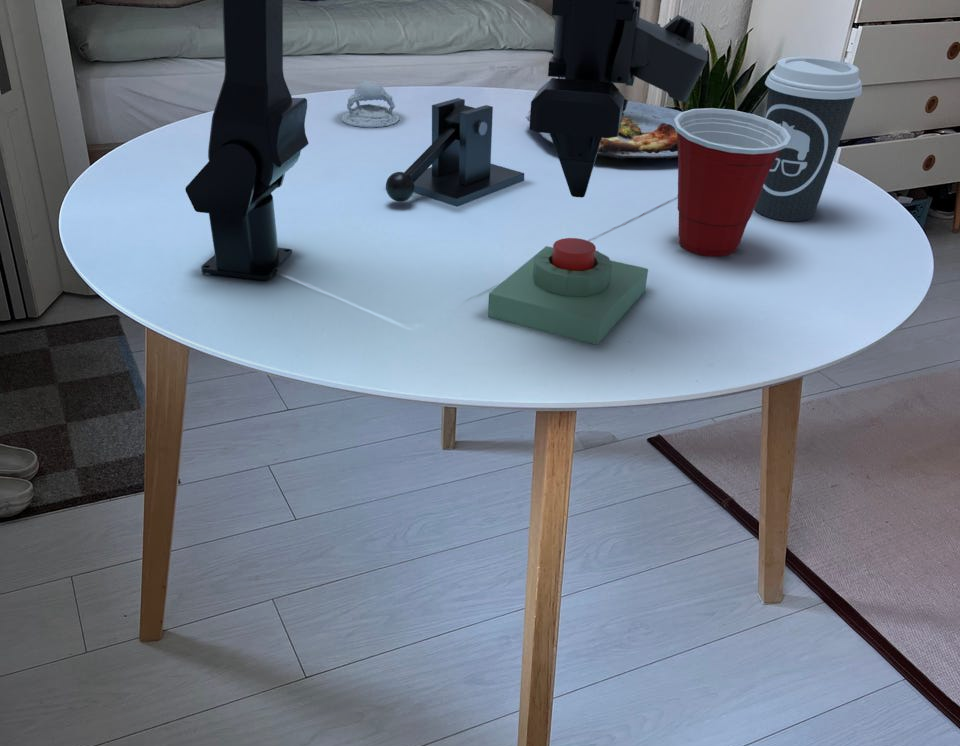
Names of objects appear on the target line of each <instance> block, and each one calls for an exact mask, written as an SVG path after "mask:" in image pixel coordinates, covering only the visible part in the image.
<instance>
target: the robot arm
mask: <svg viewBox="0 0 960 746" xmlns="http://www.w3.org/2000/svg"><path fill="white" fill-rule="evenodd" d="M221 1H222V2H221V4H222V27H223V30H222V31H223V52H224V57H223V58H224V77H223V82H222V85H221V88H220V91H219V93H218V97H217V100H216V104H215V106H214V110H213V113H212V117H211V124H210V133H209V139H208V140H209V141H208V149H207V153H208V154H207V159H208V162H207V163H206V164H205V165H204V166H203V167H202V169H200V171H199V172H198V173H197V174H196V175H195V176H194V177H193V178H192V180H191V181H190V182H189V183H188V184H187V185H186V186H185V188H184V190H185V193H186V195H187V197H188V200H189V201H190V204H191V206H192V207H193V210H194V211H195V212H196V213H203V214H208V217H209V225H210V231H211V238H212V245H213V251H214V255H213V256H212V257H210V258H209V259H208V260H207V261H206V262H204V263H203V264H202V265H201V266H200V269H201V273H203V274H209V275H218V276H224V277H225V276H227V277H232V278H241V279H250V280H257V281H268V280H270V279H271V278H272V277H273V276H274V275H275V274H276V273H277V272H278V269H279V268H280V267H281V266H282V265H283V264H284V263H285V262H286V261H287V260H288V259H289V258H290V257H291V256H292V255H293V249H291V248H286V247H279V244H278V242H279V241H278V233H277V232H278V231H277V225H276V215H275V204H274V196H273V194H272V193H273V192H274V191H275V190H276V189H278V188H281V186H282V185H283V183H284V179H285V177H286V176H285V175H286V173H287V172H288V171H289V170H290V169H292V168H293V167H294V166H295V165H296V163H298V161H299V158H300V156H301V151H302V150H304V149H305V148H306V147H307V146H309V141H308V137H307V135H306V126H305V123H306V116H307V110H308V99H307V98H306V97H292V94H291V92H290V89H289V87H288V84H287V82H286V79H285V77H284V76H285V74H284V60H283V59H284V44H283V43H284V29H283V28H284V26H283V25H284V24H283V23H284V22H283V21H284V19H283V17H284V15H283V14H284V13H283V12H284V11H283V10H284V9H283V7H284V6H283V5H284V3H283V1H284V0H221ZM551 7H552V8H551V15H552V16H555V19H554V20H555V23H554V35H553V37H554V38H553V52H552V56H551V58H550V59H549V61H548V70H547V77H551V78H550V79H549V80H548V81H547V82H546V83H545V84H543V85H542V86H541V87H540V88H539V89H538V90H537V91H536V94H535V95H534V96H533V98H532V99H531V101H530V110H531V111H530V110H529V111H530V122H529V130H530V131H533V132H535V133H539V132H540V133H550V136H551V139H552V141H553V143H552V145H553V146H554V149H555V152H556V155H557V158H558V160H559V163H560V166H561V170H562V172H563V175H564V178H565V181H566V184H567V187H568V190H569V193H570V196H571V197H574V198H585V197H586V194H587V190H588V188H589V184H590V180H591V177H592V174H593V170H594V166H595V163H596V161H597V156H598V155H597V153H598V150H599V146H600V143H601V139H602V138H613V137H617V136H618V133H619V130H620V126H621V122H622V119H623V116H624V113H623V112H624V111H625V109H626V106H627V103H628V101H629V100H628V99H626V98H625V96H624V95H623V93H621V91H620V89H619V88H618V87H617V86H616V85H615V84H625V86H630V87H633V86H634V83H635V80H636V79H635V78H637V79H639V80H641V81H643V82H645V83H647V84H649V85H651V86H653V87H655V88H657V89H659V90H661V91H664V92H665V93H667V94H668V97H669V98H670V99H671V98H672V99H674V100H676V101H678V102H681V103H686V102H687V101H688V99H689V97H690V95H691V94H692V91H693V89H694V88H695V85H696V83H697V82H698V80H699V79H700V76H701V74H702V73H703V70H704V68H705V66H706V64H707V62H708V51H707V49H705V47H704V45H703V44H701V43H698V44H697V43H695V42H694V41H695V22H693V21H692V20H690V19H688V18H686V17H684V16H682V15H680V14H677V15H676V16H675V17H673V18H672V19H671V20H670V21H668V22H667V23H666V24H665V25H663V26H661V24H660V23H658V22H655V23H653V22H650V21H649V20H646V19H644V18H642V17H640V15H641V9H642V0H552V6H551Z"/></svg>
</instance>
